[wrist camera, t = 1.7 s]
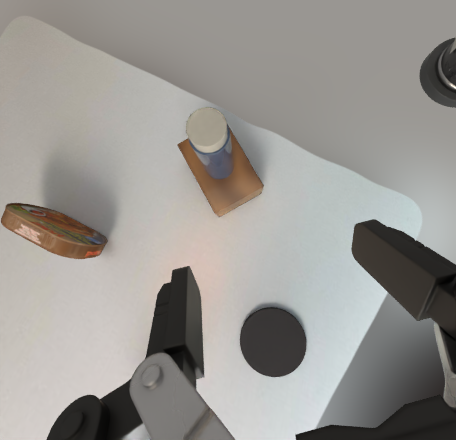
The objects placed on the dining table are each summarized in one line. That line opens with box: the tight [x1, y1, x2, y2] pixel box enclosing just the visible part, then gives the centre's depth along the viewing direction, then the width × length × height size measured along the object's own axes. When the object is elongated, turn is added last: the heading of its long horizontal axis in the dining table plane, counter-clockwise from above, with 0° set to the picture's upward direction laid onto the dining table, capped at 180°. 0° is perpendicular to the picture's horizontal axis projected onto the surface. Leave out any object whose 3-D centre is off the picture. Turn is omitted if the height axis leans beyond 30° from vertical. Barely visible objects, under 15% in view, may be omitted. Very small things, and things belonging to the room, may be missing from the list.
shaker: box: [186, 107, 234, 179], centre depth 26 cm, size 4×4×10 cm
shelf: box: [178, 128, 264, 217], centre depth 33 cm, size 8×12×5 cm, turn 29°
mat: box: [240, 307, 306, 377], centre depth 32 cm, size 10×10×1 cm
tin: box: [1, 203, 107, 259], centre depth 33 cm, size 15×3×8 cm, turn 64°
